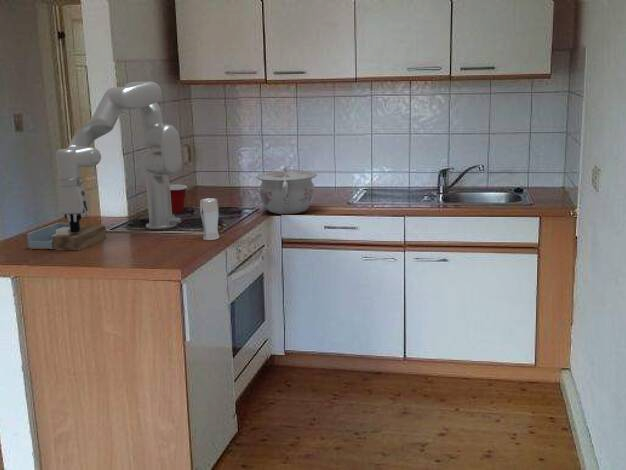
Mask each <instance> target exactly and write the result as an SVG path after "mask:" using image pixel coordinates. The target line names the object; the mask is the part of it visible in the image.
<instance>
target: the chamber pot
mask: <svg viewBox="0 0 626 470" xmlns="http://www.w3.org/2000/svg"><path fill="white" fill-rule="evenodd" d="M317 176H318V174H317V173H316V172H312V171H309V170H299V169H298V170H297V169H288V166H285V167H284V168H283V170H281V169H280V170H273V171H267V172H264V173H263V172H262V173H260V174H258V175H256V176H255V178H256V179H257V180H259V181H260V182H261V184H260V186H259V194H260V198H261V202H262V204H263V205H264V207H265V208H266V209H267V211H268V212H269V213H272V214H275V215H280V216H287V215H288V216H290V215H298V214H301V213H304V212H306V211H307V210H308V209H309V208H310V206H311V204H312V202H313V200H314V195H315V184H314V183H313V181H312V179H313V178H316V177H317Z"/></svg>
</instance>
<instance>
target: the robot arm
mask: <svg viewBox="0 0 626 470" xmlns="http://www.w3.org/2000/svg"><path fill="white" fill-rule="evenodd" d="M161 97H162V89H161V87H160V85H159V84H158V83H156V82H154V81H131V82H128V83H126V84H125V85H124V86H119V87H118V86H115V87H114V86H113V87H110V88H108V89H107V90H105V92H104V93H103V96H102V97H101V100H100V101H99V104H98V106H96V109H95V111H94V114H93V115H92V117H91V118H90V120H88V121H87V122H86V123H85V124H84V125H83V126H82V127H81V128H80V129H78V131H76V133H75V134H74V135H73V137H72V139H71V141H70V142H69V144H68V146H67V148H62V149H61V148H60V149H58V150H57V151H56V153H55V157H56V165H57V166H56V167H57V175H58V176H57V177H58V184H59V186H58V189H57V207H58V212H59V216H60V217H62V218H65V219H67V223H70V229H71V233H73V232H74V233H76V232H79V231H80V226H81V224H80V225H79V223H80V221H81V219H82V218H85V217H87V216H88V211H89V203H88V197H87V192H86V189H85V187H84V185H82V184H84V183H85V181H84V179H82V177H81V169H80V168H93V167H96V166H97V165H99V164H100V162H101V159H102V154H101V152H100V150H98V149H97V148H96V147H93V146H91V144H92V143H93V142H94V141H96V140H97V139H99V138H101V137H103V136H105V135H107V134H109V133H110V132H112V131H113V129H114V128H115V125H116V124H117V121H118V119H119V118H120V116H121V113H122V112H123V110H126V111H127V110H129V111H131V110H135V109H136V110H137V111H138V113H139V118H140V125H141V134H142V141H143V144H144V145H145V146H147V147H148V148H156V149H160V150H150V151H147V152H146V153H145V154H144V155H143V157H142V158H141V159H142V160H141V167H142V170H143V174H144V177H145V185H146V196H147V198H146V199H147V210H148V211H147V212H148V220H149V222H147V223H146V224H145V228H146V229H149V230H165V229H171V228H174V227H177V224H180V223H182V218H181V217H176V216H175V214H173V212H172V206H171V194H170V185H171V183H170V180H169V177H168V176H175V175H176V174H178V173H179V172H180V171H181V168H182V163H183V161H182V150H181V140H180V135H179V132H178V130H177V129H176V128H175V126H174V125H171V124H168V123H167V124H166V123H163V117H162V110H161V108H160V106H159V104H158V102H159V101H160V100H161Z"/></svg>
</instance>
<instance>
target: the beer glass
mask: <svg viewBox="0 0 626 470" xmlns="http://www.w3.org/2000/svg"><path fill="white" fill-rule="evenodd" d="M199 203H200V204H199V214H200V219H201V223H202V227H203V237H202V239H203V240H205V241H214V240H215V241H216V240H219V239H220V235H219V231H218V229H219V228H218V225H219V216H220V215H219V214H220V210H219V203H218V198H213V197H212V198H211V197H210V198H203V199H202V198H201V199H200V200H199Z"/></svg>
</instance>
